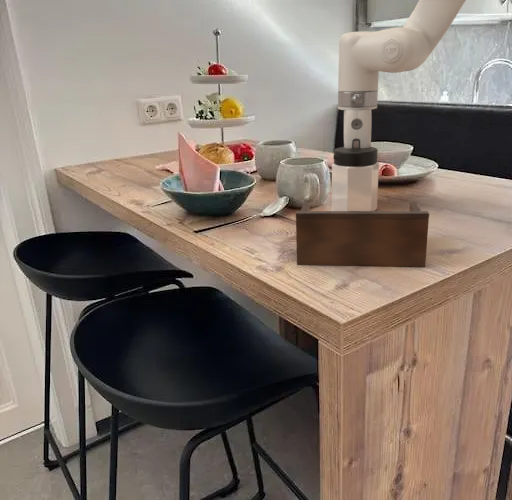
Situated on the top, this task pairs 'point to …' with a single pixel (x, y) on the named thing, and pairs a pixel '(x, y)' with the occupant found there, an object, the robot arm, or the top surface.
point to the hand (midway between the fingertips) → (354, 192)
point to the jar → (355, 179)
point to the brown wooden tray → (362, 237)
